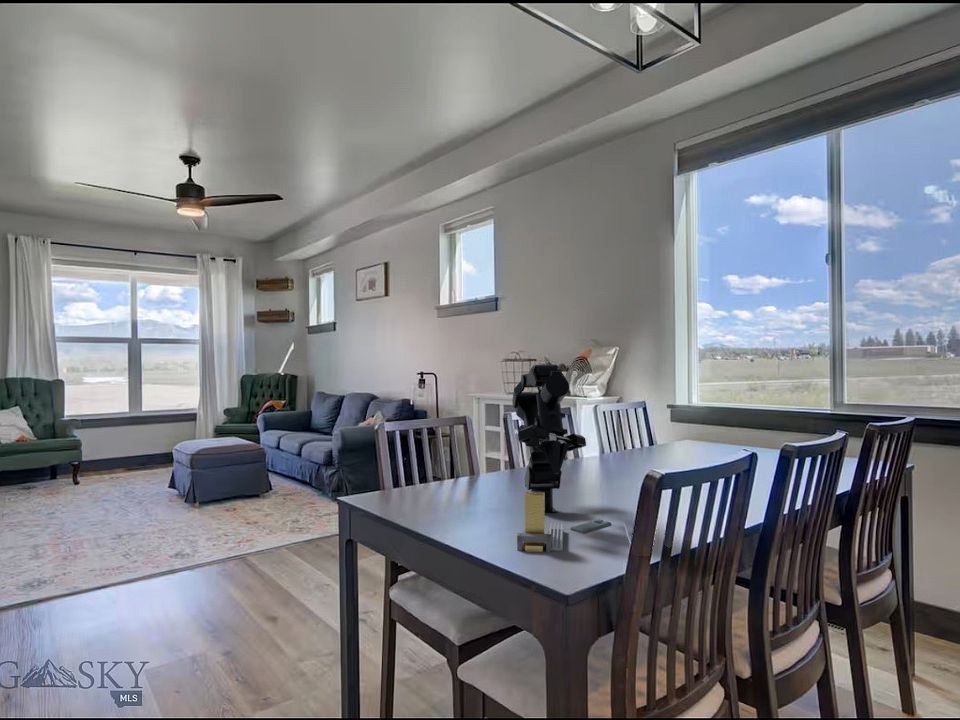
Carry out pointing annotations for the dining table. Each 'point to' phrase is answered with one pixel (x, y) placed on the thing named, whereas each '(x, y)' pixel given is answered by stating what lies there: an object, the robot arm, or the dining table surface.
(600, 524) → the dark grey flat block
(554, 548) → the socket board
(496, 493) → the dining table surface
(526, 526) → the yellow rectangular block
